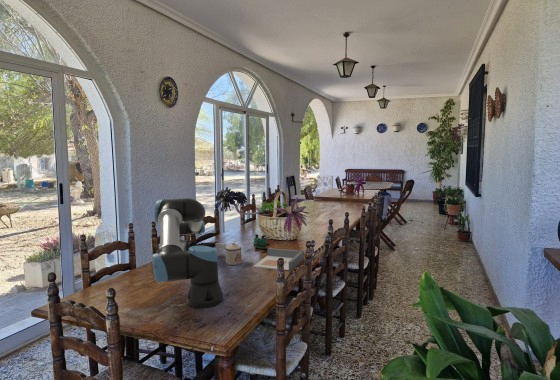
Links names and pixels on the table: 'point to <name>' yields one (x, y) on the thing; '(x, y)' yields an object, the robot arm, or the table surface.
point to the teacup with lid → (233, 254)
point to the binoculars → (260, 243)
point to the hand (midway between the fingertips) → (219, 249)
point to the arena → (289, 256)
